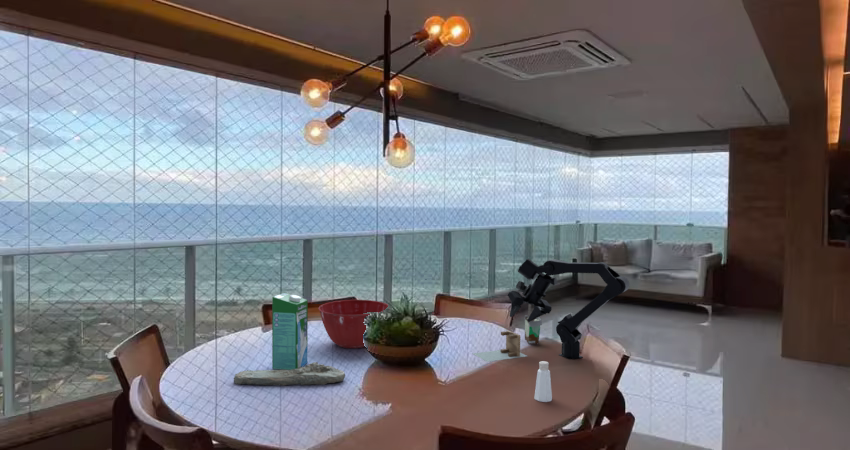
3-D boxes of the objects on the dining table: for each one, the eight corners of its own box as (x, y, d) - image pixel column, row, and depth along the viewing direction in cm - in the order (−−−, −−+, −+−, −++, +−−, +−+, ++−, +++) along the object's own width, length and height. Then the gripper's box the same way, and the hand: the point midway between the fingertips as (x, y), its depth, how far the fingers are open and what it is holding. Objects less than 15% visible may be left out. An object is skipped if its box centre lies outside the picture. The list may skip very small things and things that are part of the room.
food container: (544, 346, 216) (544, 321, 216) (529, 346, 217) (529, 321, 216) (538, 338, 229) (539, 315, 228) (524, 338, 229) (524, 315, 228)
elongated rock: (239, 381, 175) (230, 393, 165) (238, 365, 175) (229, 377, 165) (346, 374, 178) (344, 386, 168) (345, 358, 177) (343, 370, 167)
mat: (528, 357, 201) (528, 356, 201) (486, 362, 193) (486, 361, 193) (511, 349, 211) (511, 348, 211) (471, 354, 203) (471, 353, 203)
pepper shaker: (539, 394, 162) (539, 358, 162) (555, 398, 159) (556, 361, 158) (530, 399, 158) (531, 362, 158) (547, 403, 155) (548, 366, 154)
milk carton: (296, 370, 182) (296, 297, 180) (272, 368, 183) (272, 296, 182) (307, 362, 190) (307, 293, 189) (284, 361, 192) (284, 292, 191)
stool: (520, 356, 201) (520, 335, 200) (511, 357, 199) (511, 336, 199) (508, 350, 208) (508, 330, 208) (499, 351, 206) (499, 331, 206)
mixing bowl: (384, 355, 201) (384, 314, 201) (309, 352, 203) (309, 312, 202) (393, 336, 229) (393, 300, 229) (327, 334, 231) (328, 299, 231)
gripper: (547, 281, 218) (528, 311, 223) (511, 270, 210) (492, 302, 215) (561, 297, 209) (540, 328, 214) (524, 286, 201) (504, 319, 206)
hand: (519, 318), depth 213 cm, fingers open, 9 cm apart
